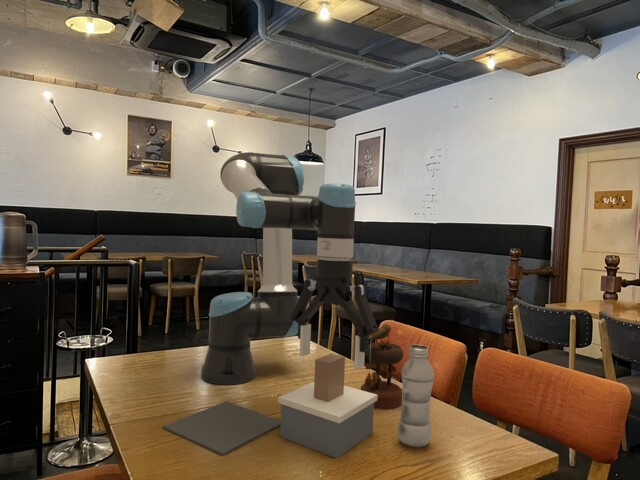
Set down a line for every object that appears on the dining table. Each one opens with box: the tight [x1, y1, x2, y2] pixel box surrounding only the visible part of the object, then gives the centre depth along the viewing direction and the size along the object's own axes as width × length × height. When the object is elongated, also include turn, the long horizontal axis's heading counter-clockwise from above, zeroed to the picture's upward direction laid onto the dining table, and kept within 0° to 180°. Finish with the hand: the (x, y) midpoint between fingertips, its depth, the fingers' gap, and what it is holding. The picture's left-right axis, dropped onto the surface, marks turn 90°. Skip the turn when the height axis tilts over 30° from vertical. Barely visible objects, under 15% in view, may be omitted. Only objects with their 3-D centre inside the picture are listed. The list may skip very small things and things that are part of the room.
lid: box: [277, 353, 378, 423], centre depth 96 cm, size 15×15×10 cm
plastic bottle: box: [397, 344, 435, 448], centre depth 94 cm, size 6×7×20 cm
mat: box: [162, 400, 281, 457], centre depth 98 cm, size 18×18×1 cm
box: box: [279, 403, 375, 459], centre depth 96 cm, size 14×14×7 cm
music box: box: [360, 323, 404, 410], centre depth 117 cm, size 15×11×20 cm
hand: (330, 361), depth 96 cm, fingers open, 13 cm apart
